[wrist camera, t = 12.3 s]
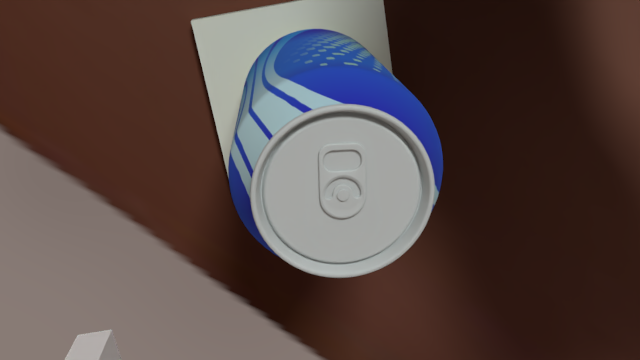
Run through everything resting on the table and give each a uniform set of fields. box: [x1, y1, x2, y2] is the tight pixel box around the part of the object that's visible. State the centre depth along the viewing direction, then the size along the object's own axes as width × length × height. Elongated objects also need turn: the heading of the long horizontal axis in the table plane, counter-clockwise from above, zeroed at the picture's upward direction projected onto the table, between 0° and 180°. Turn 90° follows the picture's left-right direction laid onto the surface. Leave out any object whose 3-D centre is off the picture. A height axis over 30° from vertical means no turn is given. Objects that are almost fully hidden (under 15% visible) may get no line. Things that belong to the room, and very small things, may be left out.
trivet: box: [191, 0, 393, 178], centre depth 37 cm, size 11×11×1 cm
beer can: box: [228, 29, 443, 278], centre depth 29 cm, size 8×8×16 cm
